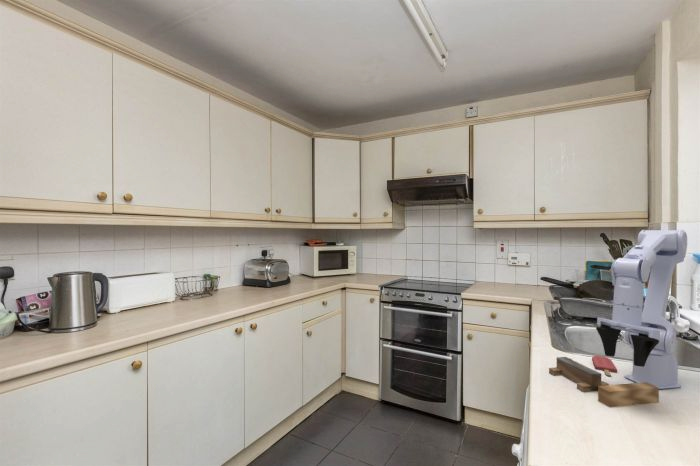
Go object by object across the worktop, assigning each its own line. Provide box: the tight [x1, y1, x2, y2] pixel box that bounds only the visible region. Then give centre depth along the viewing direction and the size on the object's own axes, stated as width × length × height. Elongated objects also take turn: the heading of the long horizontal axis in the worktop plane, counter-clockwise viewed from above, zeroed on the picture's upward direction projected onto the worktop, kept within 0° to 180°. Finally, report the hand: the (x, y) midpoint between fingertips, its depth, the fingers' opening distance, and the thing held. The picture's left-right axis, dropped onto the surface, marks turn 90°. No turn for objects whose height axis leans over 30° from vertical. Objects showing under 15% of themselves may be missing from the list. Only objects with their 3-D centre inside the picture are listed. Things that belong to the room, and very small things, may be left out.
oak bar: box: [597, 382, 660, 408], centre depth 83 cm, size 14×3×4 cm, turn 99°
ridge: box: [548, 356, 611, 393], centre depth 94 cm, size 8×12×4 cm, turn 9°
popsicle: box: [591, 355, 618, 377], centre depth 104 cm, size 5×2×15 cm
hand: (623, 360), depth 83 cm, fingers open, 7 cm apart
